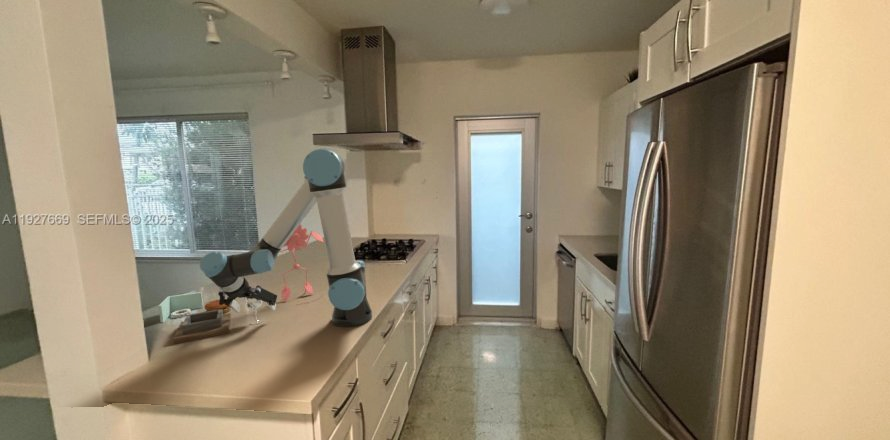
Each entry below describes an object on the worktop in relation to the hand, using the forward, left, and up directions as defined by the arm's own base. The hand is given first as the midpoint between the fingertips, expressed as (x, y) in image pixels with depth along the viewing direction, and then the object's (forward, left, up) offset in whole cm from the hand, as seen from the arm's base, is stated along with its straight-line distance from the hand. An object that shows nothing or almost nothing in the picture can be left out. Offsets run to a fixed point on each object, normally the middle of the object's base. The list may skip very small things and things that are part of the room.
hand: (256, 308), depth 137 cm
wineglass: (-2, +1, -5) cm, 5 cm away
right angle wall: (+24, +27, -6) cm, 37 cm away
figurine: (+16, -17, -5) cm, 24 cm away
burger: (+20, +15, -5) cm, 25 cm away
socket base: (+1, +18, -5) cm, 18 cm away
